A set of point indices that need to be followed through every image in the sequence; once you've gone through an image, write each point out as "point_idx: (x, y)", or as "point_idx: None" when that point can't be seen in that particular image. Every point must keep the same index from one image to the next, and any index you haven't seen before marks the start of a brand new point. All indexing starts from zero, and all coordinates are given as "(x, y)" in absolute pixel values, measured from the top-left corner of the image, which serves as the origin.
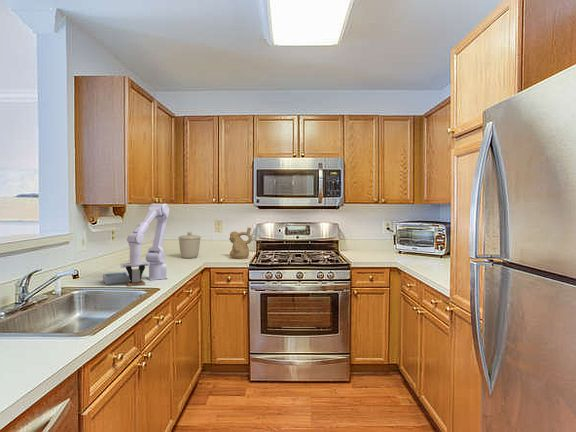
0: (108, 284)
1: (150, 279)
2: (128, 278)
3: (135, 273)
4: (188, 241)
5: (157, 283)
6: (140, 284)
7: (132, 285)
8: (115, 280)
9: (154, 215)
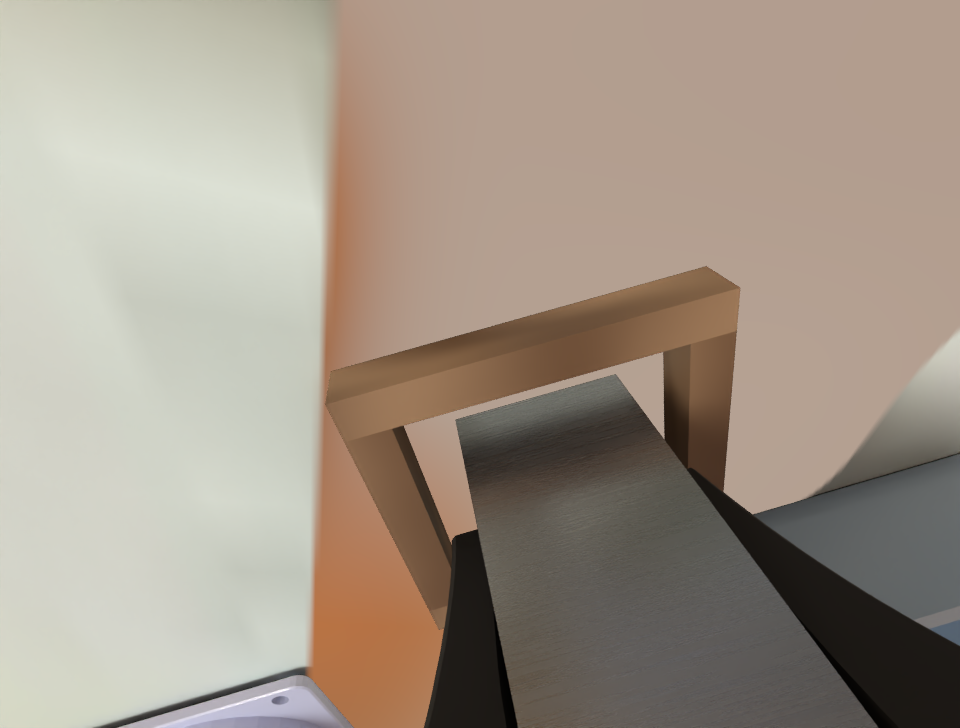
0: (955, 463)
1: (296, 687)
2: None
3: (686, 662)
4: None
5: (45, 474)
6: (443, 350)
7: (629, 295)
8: (904, 540)
9: None
